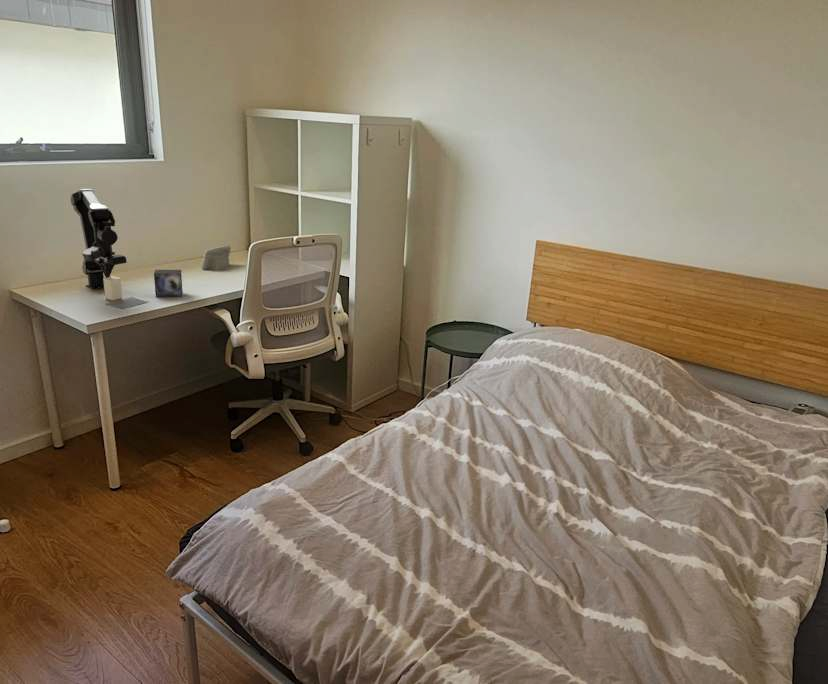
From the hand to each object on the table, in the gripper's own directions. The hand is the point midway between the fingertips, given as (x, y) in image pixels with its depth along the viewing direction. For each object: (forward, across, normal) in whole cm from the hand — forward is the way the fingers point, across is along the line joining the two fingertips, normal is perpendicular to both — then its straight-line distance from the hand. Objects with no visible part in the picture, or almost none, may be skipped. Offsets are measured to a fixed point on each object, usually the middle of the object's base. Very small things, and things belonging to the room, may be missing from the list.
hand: (107, 277), depth 247 cm
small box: (+9, +14, +18) cm, 25 cm away
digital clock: (+9, -5, +64) cm, 65 cm away
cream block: (+9, +2, 0) cm, 9 cm away
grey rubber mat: (+9, +10, 0) cm, 14 cm away
